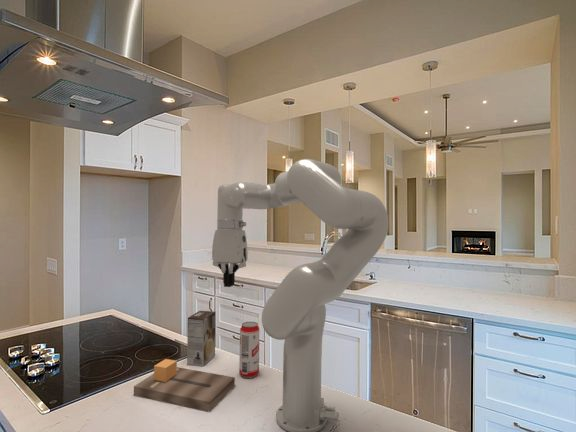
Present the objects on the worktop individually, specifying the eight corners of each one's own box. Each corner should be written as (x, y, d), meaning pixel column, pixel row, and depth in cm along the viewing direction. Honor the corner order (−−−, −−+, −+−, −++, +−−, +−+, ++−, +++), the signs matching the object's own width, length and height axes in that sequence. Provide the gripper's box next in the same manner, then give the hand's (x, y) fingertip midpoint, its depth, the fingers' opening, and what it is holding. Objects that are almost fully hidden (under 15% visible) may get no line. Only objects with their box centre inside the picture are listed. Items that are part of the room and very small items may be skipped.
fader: (176, 374, 98) (176, 360, 98) (165, 382, 93) (165, 367, 94) (165, 372, 99) (165, 358, 100) (153, 379, 95) (154, 365, 95)
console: (234, 385, 97) (234, 377, 97) (209, 411, 84) (209, 401, 84) (166, 373, 105) (166, 364, 105) (133, 395, 91) (133, 385, 91)
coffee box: (199, 354, 120) (199, 310, 120) (215, 355, 118) (216, 311, 119) (186, 365, 111) (187, 317, 111) (203, 367, 109) (204, 318, 110)
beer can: (235, 377, 103) (236, 325, 103) (244, 368, 109) (245, 320, 109) (254, 380, 101) (254, 328, 101) (262, 371, 107) (262, 322, 107)
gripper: (257, 225, 101) (256, 285, 101) (214, 225, 106) (213, 282, 105) (247, 226, 94) (246, 290, 94) (201, 225, 98) (200, 286, 98)
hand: (228, 286), depth 99 cm, fingers closed
